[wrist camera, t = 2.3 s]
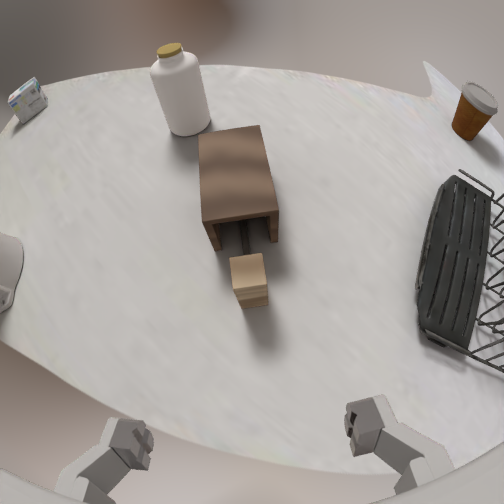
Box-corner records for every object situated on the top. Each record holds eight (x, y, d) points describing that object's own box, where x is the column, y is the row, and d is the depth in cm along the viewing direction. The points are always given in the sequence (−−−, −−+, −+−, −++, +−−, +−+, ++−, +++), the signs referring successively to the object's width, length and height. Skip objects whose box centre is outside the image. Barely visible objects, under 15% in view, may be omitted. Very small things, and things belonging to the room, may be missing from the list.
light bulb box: (48, 98, 69) (34, 75, 59) (48, 106, 66) (33, 82, 56) (23, 116, 67) (9, 95, 57) (22, 125, 64) (6, 103, 54)
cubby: (277, 241, 42) (278, 209, 34) (214, 251, 42) (201, 221, 34) (261, 162, 48) (259, 125, 40) (208, 170, 48) (198, 134, 40)
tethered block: (273, 303, 38) (274, 282, 30) (235, 309, 38) (225, 290, 30) (251, 175, 47) (247, 135, 39) (221, 179, 47) (211, 141, 39)
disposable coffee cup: (458, 114, 53) (475, 79, 42) (484, 141, 49) (505, 107, 38) (438, 120, 52) (456, 81, 41) (466, 150, 48) (489, 112, 37)
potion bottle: (196, 106, 56) (178, 34, 39) (219, 123, 53) (204, 43, 36) (163, 126, 54) (136, 54, 38) (183, 145, 51) (156, 65, 35)
